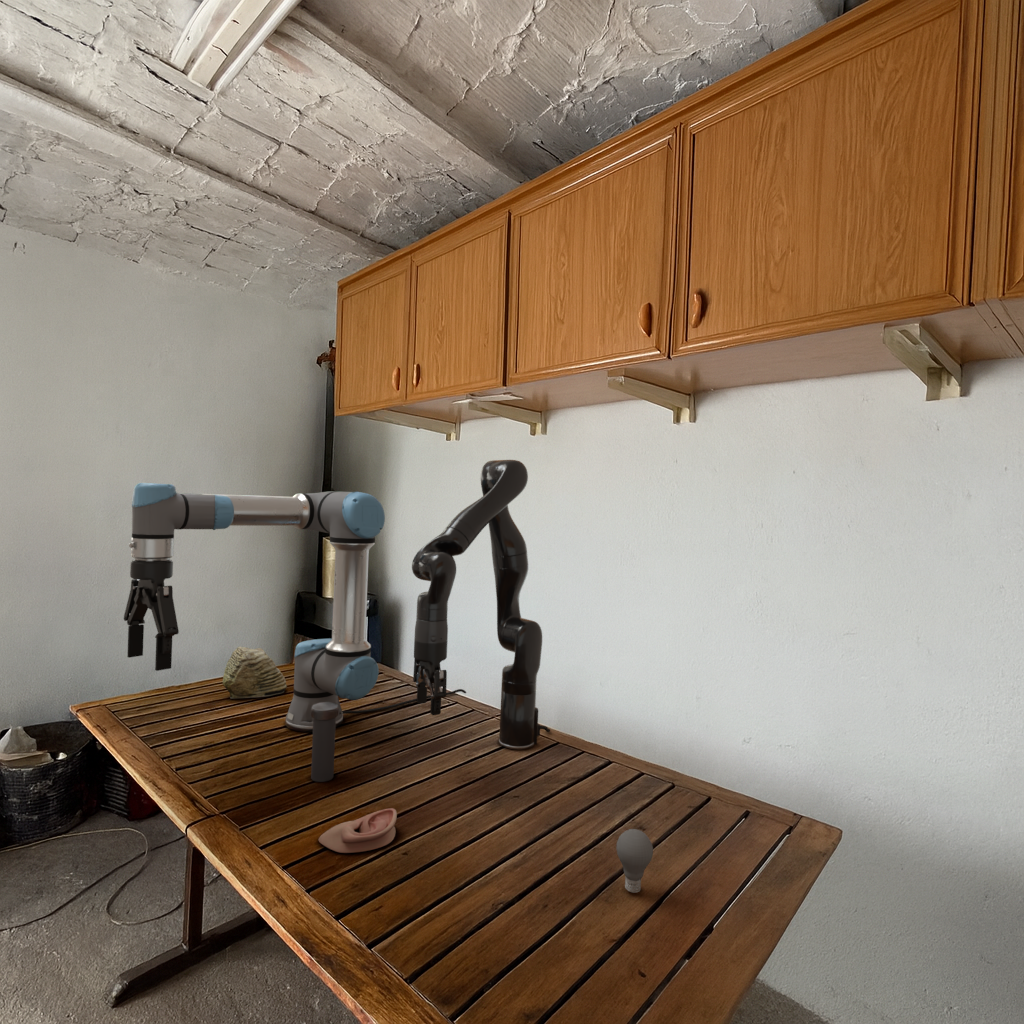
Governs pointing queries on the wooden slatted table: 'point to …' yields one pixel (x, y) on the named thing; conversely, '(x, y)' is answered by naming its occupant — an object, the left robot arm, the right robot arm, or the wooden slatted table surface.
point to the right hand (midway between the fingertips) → (428, 708)
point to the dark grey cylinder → (323, 750)
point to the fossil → (252, 674)
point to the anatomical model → (362, 833)
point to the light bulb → (634, 857)
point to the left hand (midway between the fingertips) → (148, 662)
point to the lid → (324, 711)
